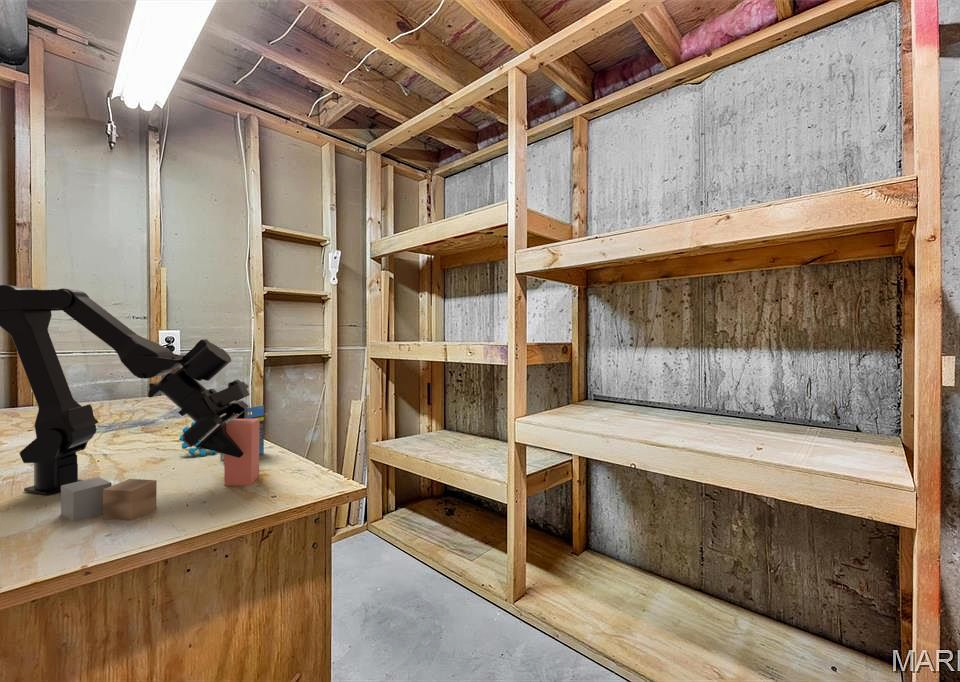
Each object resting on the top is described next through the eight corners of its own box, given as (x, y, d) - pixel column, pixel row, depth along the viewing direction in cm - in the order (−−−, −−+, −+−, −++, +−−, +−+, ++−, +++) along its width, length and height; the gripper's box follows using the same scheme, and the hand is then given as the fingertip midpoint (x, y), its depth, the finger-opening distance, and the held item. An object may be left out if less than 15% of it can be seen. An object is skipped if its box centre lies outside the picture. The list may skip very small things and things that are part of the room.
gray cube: (61, 515, 72) (60, 485, 72) (98, 504, 76) (98, 476, 76) (73, 522, 69) (73, 492, 69) (111, 511, 74) (111, 482, 74)
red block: (224, 485, 86) (224, 424, 86) (233, 477, 91) (234, 418, 91) (251, 484, 87) (251, 423, 87) (258, 476, 92) (259, 418, 91)
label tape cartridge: (254, 451, 109) (255, 403, 109) (264, 453, 108) (265, 405, 107) (219, 460, 101) (220, 408, 101) (229, 463, 100) (230, 410, 99)
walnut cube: (102, 519, 71) (102, 489, 70) (129, 506, 76) (129, 478, 75) (131, 521, 70) (131, 491, 70) (156, 508, 75) (156, 480, 75)
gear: (177, 453, 100) (182, 417, 106) (174, 466, 103) (178, 431, 110) (231, 452, 107) (232, 419, 113) (226, 465, 110) (228, 431, 116)
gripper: (201, 374, 78) (266, 432, 81) (238, 364, 97) (290, 412, 99) (153, 417, 77) (220, 475, 80) (200, 399, 95) (253, 447, 98)
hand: (249, 449), depth 89 cm, fingers open, 9 cm apart
